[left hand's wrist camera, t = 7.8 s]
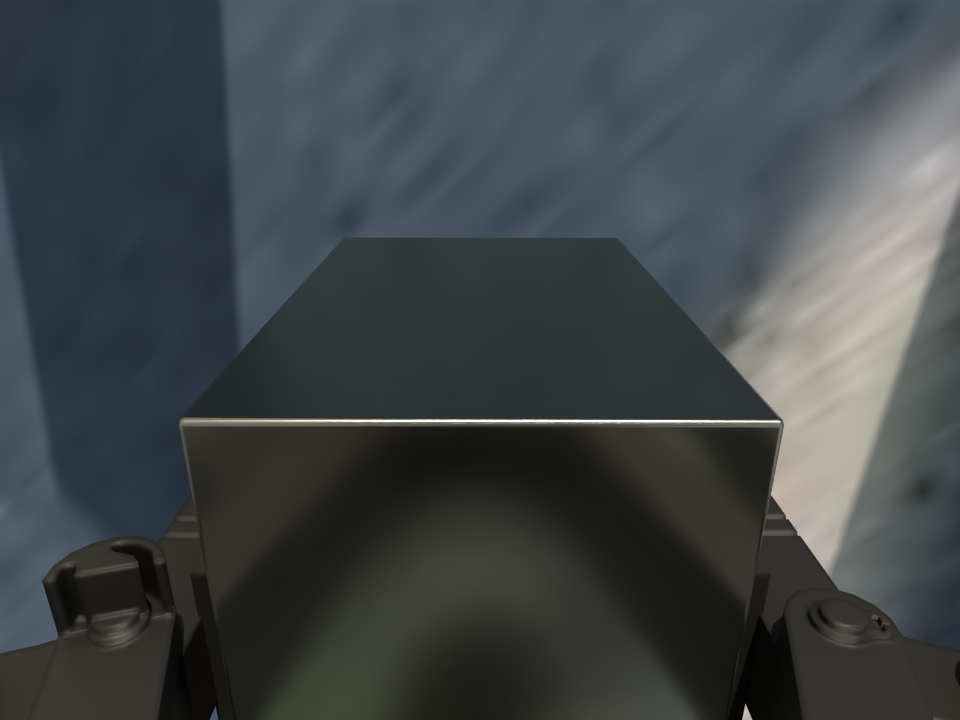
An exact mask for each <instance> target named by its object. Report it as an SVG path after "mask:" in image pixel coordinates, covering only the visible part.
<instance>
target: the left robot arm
mask: <svg viewBox="0 0 960 720" xmlns="http://www.w3.org/2000/svg"><path fill="white" fill-rule="evenodd" d="M175 519H176V520H175V522H172V523H171V525H170V526H169V528H168V529H167V530H166V532H165V533H164V538H161V539H160V540H159V542H158V543H156V542H155V541H154V540H150V539H146V538H142V537H137V536H134V537H115V538H111V539H108V540H104V541H100V542H96V543H92V544H90V545H88V546H86V547H84V548H81V549H79V550H77V551H75V552H73V553H71V554H69V555H68V556H66V557H65V558H64V559H62V560H61V561H60V562H58V563H57V564H55V565H54V566H53V567H52V568H51V570H50V571H49V572H48V574H47V575H46V576H45V578H44V579H43V580H42V582H43V585H44V588H45V592H46V595H47V598H48V602H49V605H50V608H51V612H52V615H53V619H54V622H55V625H56V629H57V632H58V635H59V636H58V638H57V640H54V641H51V642H47V643H44V644H40V645H36V646H31V647H27V648H23V649H18V650H14V651H9V652H5V653H1V654H0V720H210V718H211V715H212V713H213V710H214V708H215V706H216V709H217V714H218V720H233V716H232V711H231V706H230V700H229V695H228V689H227V684H226V678H225V673H224V668H223V662H222V657H221V651H220V646H219V640H218V635H217V630H216V624H215V619H214V613H213V608H212V603H211V597H210V592H209V586H208V581H207V575H206V570H205V565H204V559H203V554H202V548H201V543H200V537H199V532H198V527H197V521H196V516H195V510H194V505H193V499H192V497H190V498H189V499H188V501H187V502H186V504H185V505H184V506H183V508H182V509H181V511H180V512H179V514H178V515H177V516H176V518H175ZM745 703H746V706H747V708H748V710H749V713H750V715H751V717H752V720H960V651H959V650H954V649H950V648H946V647H941V646H937V645H932V644H928V643H924V642H919V641H916V640H913V639H909V638H906V637H903V636H902V635H901V633H900V632H899V630H898V629H897V627H896V626H895V624H894V622H893V621H892V619H890V618H889V617H888V616H887V615H886V614H884V613H883V612H882V611H881V610H880V609H878V608H877V607H876V606H875V605H873V604H871V603H869V602H867V601H865V600H863V599H861V598H859V597H857V596H855V595H853V594H849V593H846V592H842V591H839V590H838V588H837V587H836V586H835V584H834V583H833V581H832V580H831V579H830V577H829V576H828V574H827V573H826V572H825V570H824V569H823V567H822V566H821V565H820V563H819V562H818V560H817V559H816V557H815V556H814V555H813V553H812V552H811V550H810V549H809V548H808V546H807V545H806V543H805V542H804V541H803V539H802V538H801V536H798V535H797V531H796V529H795V528H794V527H793V525H792V524H791V522H790V521H789V520H786V515H785V514H784V513H783V511H782V510H781V508H780V507H779V506H778V504H777V503H776V501H775V500H774V499H773V497H772V496H770V501H769V506H768V512H767V517H766V522H765V527H764V533H763V538H762V543H761V548H760V554H759V559H758V564H757V569H756V575H755V580H754V585H753V591H752V596H751V601H750V606H749V612H748V617H747V622H746V627H745V633H744V638H743V643H742V648H741V654H740V659H739V664H738V669H737V675H736V680H735V685H734V690H733V696H732V701H731V706H730V711H729V717H728V720H742V718H743V713H744V708H745Z"/></svg>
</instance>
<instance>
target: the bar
mask: <svg viewBox="0 0 960 720" xmlns="http://www.w3.org/2000/svg"><path fill="white" fill-rule="evenodd" d="M783 427H784V424H783V420H782V419H781V418H780V417H779V415H778V414H777V413H776V412H775V411H774V410H773V409H772V408H771V407H770V406H769V404H768V403H767V402H766V401H765V400H764V399H763V398H762V397H761V396H760V395H759V393H758V392H757V391H756V390H755V389H754V388H753V387H752V386H751V385H750V384H749V382H748V381H747V380H746V379H745V378H744V377H743V376H742V375H741V374H740V373H739V371H738V370H737V369H736V368H735V367H734V366H733V365H732V364H731V363H730V362H729V360H728V359H727V358H726V357H725V356H724V355H723V354H722V353H721V352H720V351H719V349H718V348H717V347H716V346H715V345H714V344H713V343H712V342H711V341H710V340H709V338H708V337H707V336H706V335H705V334H704V333H703V332H702V331H701V330H700V329H699V327H698V326H697V325H696V324H695V323H694V322H693V321H692V320H691V319H690V318H689V316H688V315H687V314H686V313H685V312H684V311H683V310H682V309H681V308H680V307H679V305H678V304H677V303H676V302H675V301H674V300H673V299H672V298H671V297H670V296H669V294H668V293H667V292H666V291H665V290H664V289H663V288H662V287H661V286H660V285H659V283H658V282H657V281H656V280H655V279H654V278H653V277H652V276H651V275H650V274H649V272H648V271H647V270H646V269H645V268H644V267H643V266H642V265H641V264H640V263H639V261H638V260H637V259H636V258H635V257H634V256H633V255H632V254H631V253H630V252H629V250H628V249H627V248H626V247H625V246H624V245H623V244H622V243H621V242H620V241H619V240H618V239H617V238H344V239H342V241H341V242H340V243H339V244H338V245H337V246H336V247H335V248H334V249H333V250H332V252H331V253H330V254H329V255H328V256H327V257H326V258H325V259H324V260H323V261H322V263H321V264H320V265H319V266H318V267H317V268H316V269H315V270H314V271H313V273H312V274H311V275H310V276H309V277H308V278H307V279H306V280H305V281H304V282H303V284H302V285H301V286H300V287H299V288H298V289H297V290H296V291H295V292H294V294H293V295H292V296H291V297H290V298H289V299H288V300H287V301H286V302H285V303H284V305H283V306H282V307H281V308H280V309H279V310H278V311H277V312H276V313H275V314H274V316H273V317H272V318H271V319H270V320H269V321H268V322H267V323H266V324H265V326H264V327H263V328H262V329H261V330H260V331H259V332H258V333H257V334H256V335H255V337H254V338H253V339H252V340H251V341H250V342H249V343H248V344H247V345H246V347H245V348H244V349H243V350H242V351H241V352H240V353H239V354H238V355H237V356H236V358H235V359H234V360H233V361H232V362H231V363H230V364H229V365H228V366H227V367H226V369H225V370H224V371H223V372H222V373H221V374H220V375H219V376H218V377H217V379H216V380H215V381H214V382H213V383H212V384H211V385H210V386H209V387H208V388H207V390H206V391H205V392H204V393H203V394H202V395H201V396H200V397H199V398H198V400H197V401H196V402H195V403H194V404H193V405H192V406H191V407H190V408H189V409H188V411H187V412H186V413H185V414H184V415H183V416H182V417H181V418H180V421H179V429H180V434H181V440H182V445H183V451H184V456H185V462H186V467H187V472H188V478H189V483H190V489H191V494H192V499H193V505H194V510H195V516H196V521H197V527H198V532H199V537H200V543H201V548H202V554H203V559H204V565H205V570H206V575H207V581H208V586H209V592H210V597H211V603H212V608H213V613H214V619H215V624H216V630H217V635H218V640H219V646H220V651H221V657H222V662H223V668H224V673H225V678H226V684H227V689H228V695H229V700H230V706H231V711H232V716H233V720H728V717H729V711H730V706H731V701H732V696H733V690H734V685H735V680H736V675H737V669H738V664H739V659H740V654H741V648H742V643H743V638H744V633H745V627H746V622H747V617H748V612H749V606H750V601H751V596H752V591H753V585H754V580H755V575H756V569H757V564H758V559H759V554H760V548H761V543H762V538H763V533H764V527H765V522H766V517H767V512H768V506H769V501H770V496H771V491H772V485H773V480H774V475H775V470H776V464H777V459H778V454H779V449H780V443H781V438H782V433H783Z"/></svg>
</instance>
